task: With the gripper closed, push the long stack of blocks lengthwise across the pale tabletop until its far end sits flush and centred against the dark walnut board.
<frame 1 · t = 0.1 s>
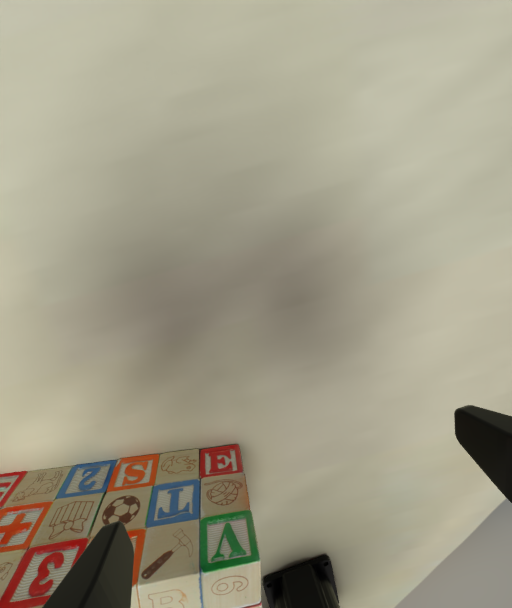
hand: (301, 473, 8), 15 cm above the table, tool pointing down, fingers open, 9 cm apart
stack of blocks: (102, 491, 24), on the table
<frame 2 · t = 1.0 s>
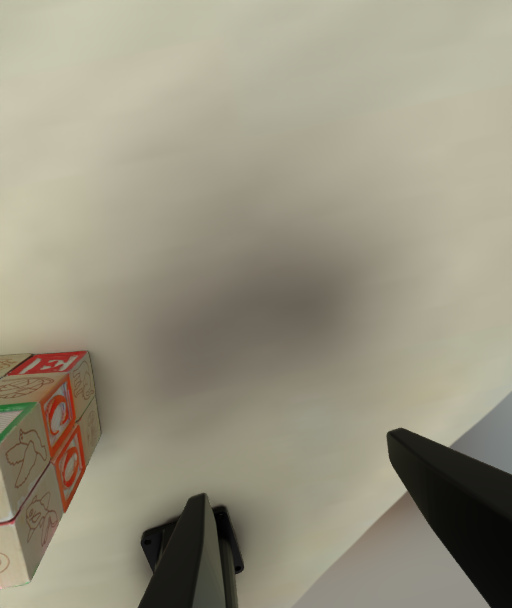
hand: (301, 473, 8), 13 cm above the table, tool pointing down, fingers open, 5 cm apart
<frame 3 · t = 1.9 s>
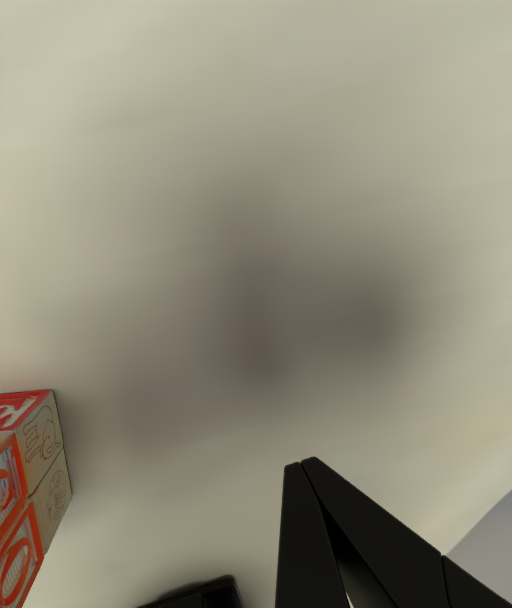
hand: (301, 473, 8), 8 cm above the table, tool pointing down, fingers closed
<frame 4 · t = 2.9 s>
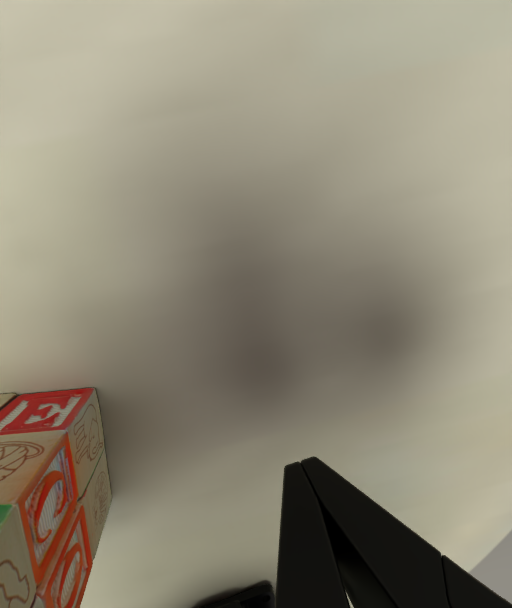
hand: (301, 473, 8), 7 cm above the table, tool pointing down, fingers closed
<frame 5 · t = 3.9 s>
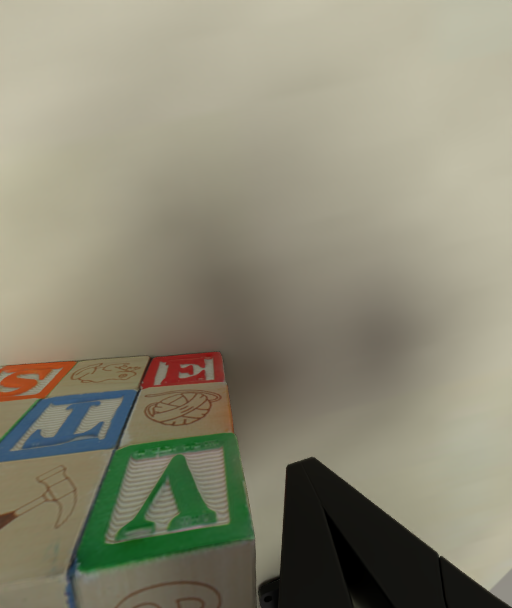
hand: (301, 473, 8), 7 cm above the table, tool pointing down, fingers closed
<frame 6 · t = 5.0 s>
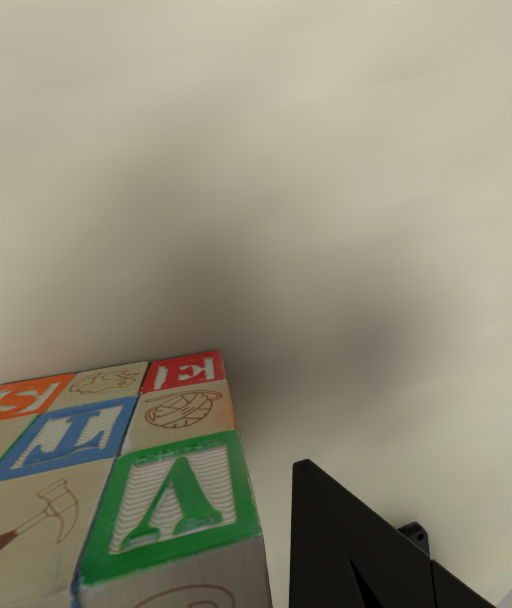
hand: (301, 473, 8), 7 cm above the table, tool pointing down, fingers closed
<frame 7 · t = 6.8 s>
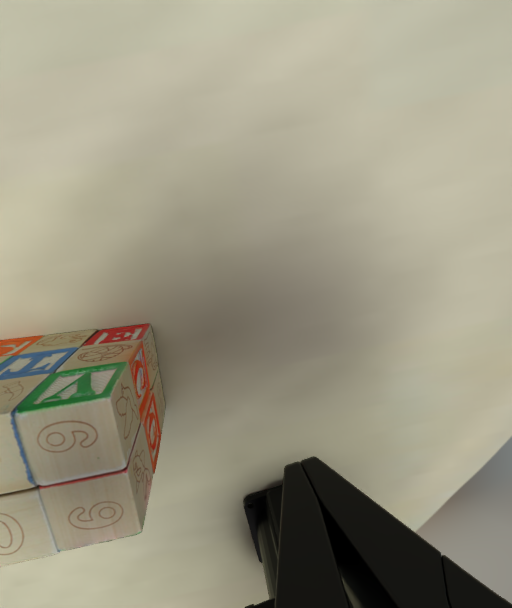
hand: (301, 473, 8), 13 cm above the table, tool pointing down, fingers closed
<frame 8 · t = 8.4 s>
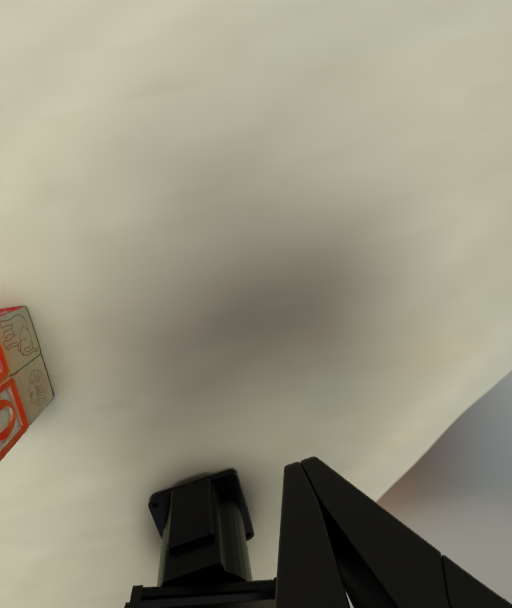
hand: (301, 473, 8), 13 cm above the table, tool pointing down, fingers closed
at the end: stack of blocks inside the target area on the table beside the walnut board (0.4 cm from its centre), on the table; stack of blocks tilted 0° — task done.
